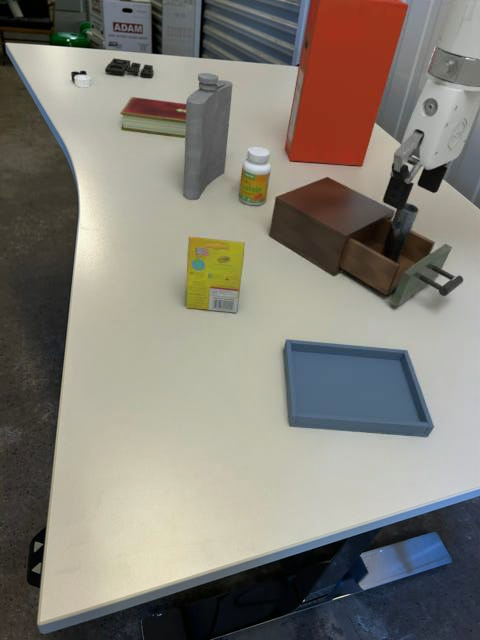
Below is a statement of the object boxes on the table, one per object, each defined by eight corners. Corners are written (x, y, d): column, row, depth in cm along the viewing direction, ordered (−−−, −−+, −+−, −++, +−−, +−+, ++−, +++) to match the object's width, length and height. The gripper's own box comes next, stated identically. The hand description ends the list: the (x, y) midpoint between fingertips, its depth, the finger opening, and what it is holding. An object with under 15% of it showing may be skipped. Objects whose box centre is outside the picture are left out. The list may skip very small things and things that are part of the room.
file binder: (284, 147, 115) (312, -13, 94) (353, 152, 118) (395, -2, 96) (289, 161, 109) (321, -6, 88) (362, 166, 112) (409, 5, 91)
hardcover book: (132, 112, 121) (131, 95, 118) (214, 123, 122) (216, 106, 119) (121, 129, 112) (120, 111, 109) (210, 141, 113) (212, 123, 110)
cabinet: (381, 248, 85) (395, 210, 80) (334, 276, 77) (346, 236, 72) (318, 213, 92) (327, 176, 87) (268, 235, 84) (275, 196, 79)
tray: (402, 360, 64) (407, 350, 63) (427, 437, 55) (434, 426, 54) (283, 349, 63) (285, 339, 62) (289, 426, 54) (292, 415, 53)
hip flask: (195, 201, 91) (201, 89, 77) (176, 195, 91) (178, 83, 78) (226, 170, 102) (236, 68, 89) (209, 165, 103) (216, 63, 90)
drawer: (464, 291, 77) (480, 261, 73) (424, 324, 69) (440, 292, 65) (370, 239, 85) (380, 210, 82) (326, 263, 78) (335, 233, 74)
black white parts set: (68, 88, 131) (67, 75, 129) (91, 60, 149) (90, 48, 146) (142, 100, 133) (142, 87, 130) (156, 70, 150) (156, 58, 148)
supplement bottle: (236, 203, 92) (242, 154, 85) (240, 191, 96) (246, 143, 89) (264, 208, 91) (271, 159, 85) (267, 195, 96) (275, 148, 89)
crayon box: (238, 300, 70) (247, 231, 62) (237, 314, 68) (247, 244, 60) (187, 295, 70) (190, 225, 62) (184, 308, 67) (188, 237, 60)
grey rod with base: (404, 265, 78) (428, 208, 71) (387, 277, 75) (410, 218, 68) (384, 254, 80) (406, 197, 73) (367, 265, 77) (388, 206, 70)
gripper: (456, 86, 51) (401, 225, 63) (517, 71, 61) (460, 193, 73) (397, 66, 55) (355, 201, 66) (463, 55, 65) (417, 173, 76)
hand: (410, 197), depth 70 cm, fingers open, 9 cm apart
